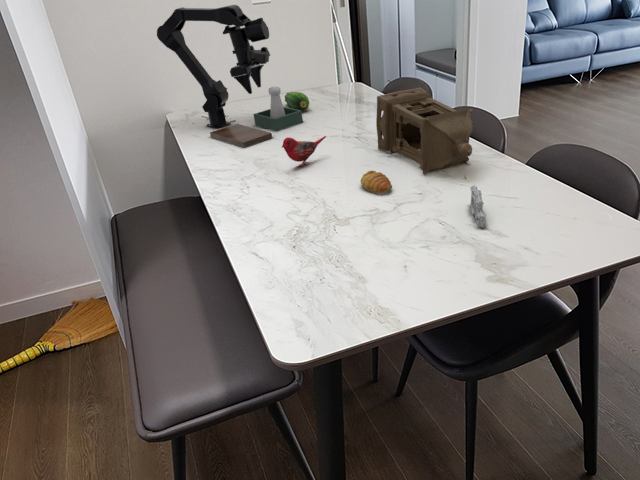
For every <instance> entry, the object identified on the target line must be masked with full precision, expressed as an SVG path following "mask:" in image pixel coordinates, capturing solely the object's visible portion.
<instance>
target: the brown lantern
mask: <svg viewBox="0 0 640 480" xmlns="http://www.w3.org/2000/svg"><path fill="white" fill-rule="evenodd" d="M473 112H474V109H473V108H466V109H460V110H456V109H454V108H452V107H450V106H448V105H446V104H444V103H442V102H441V101H438V100H437V99H434V98H433V96H432V95H431V94H428V92H427V90H425V89H423V88H422V87H421V86H420V87H416V88H411V89H405V90H397V91H393V92H389V93H384V94H380V95H377V97H376V121H375V123H376V126H375V127H376V136H377V150H379V151H380V150H381V151H384V152H388V151H389V152H390V153H389V154H390V155H394V154H398V155H400V156H403V157H404V158H407V159H408V160H411V161H412V162H415V163H417V164H419V169H420V170H421V171H422V175H425V176H427V175H428V174H430V173H434V172H438V171H442V170H446V169H450V168H453V167H456V166H460V165H464V164H466V165H467V164H468V162H469V160H470V158H469V157H470V156H471V155H472V153H473V147H472V145H471V143H470V138H471V135H472V132H473V131H474V129H473V128H474V124H473V121H472V116H471V115H472V113H473Z"/></svg>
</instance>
